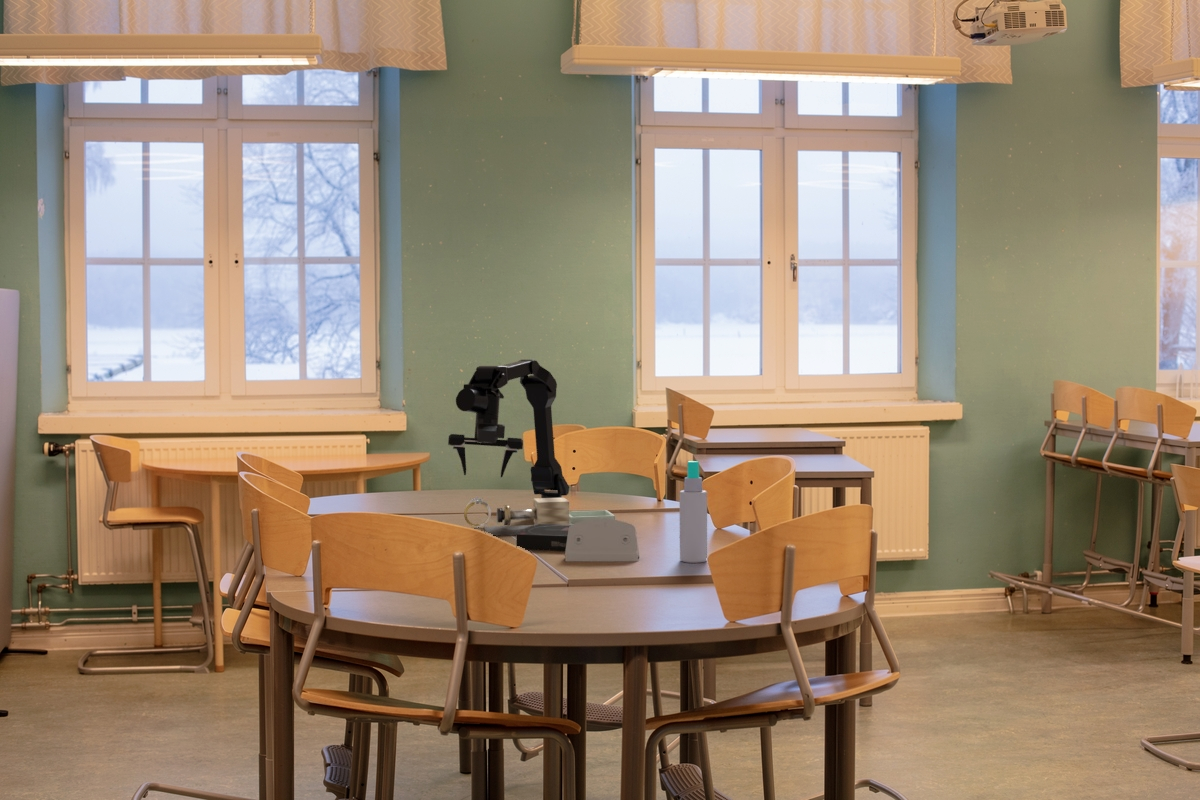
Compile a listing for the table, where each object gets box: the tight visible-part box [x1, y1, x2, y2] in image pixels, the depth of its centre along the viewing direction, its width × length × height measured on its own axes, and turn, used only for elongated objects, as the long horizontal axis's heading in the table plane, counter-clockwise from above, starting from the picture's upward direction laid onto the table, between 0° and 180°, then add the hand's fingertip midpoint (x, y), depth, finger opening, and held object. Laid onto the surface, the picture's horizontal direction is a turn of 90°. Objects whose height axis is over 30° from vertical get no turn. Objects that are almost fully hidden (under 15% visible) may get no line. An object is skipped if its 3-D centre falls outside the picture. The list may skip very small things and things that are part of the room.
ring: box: [463, 496, 492, 529], centre depth 310 cm, size 7×3×8 cm, turn 92°
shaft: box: [496, 504, 537, 526], centre depth 302 cm, size 12×5×5 cm, turn 101°
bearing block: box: [483, 497, 575, 537], centre depth 303 cm, size 26×9×8 cm, turn 101°
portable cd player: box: [515, 524, 571, 552], centre depth 283 cm, size 16×17×4 cm
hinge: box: [564, 519, 640, 562], centre depth 265 cm, size 17×5×10 cm, turn 88°
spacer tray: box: [569, 509, 616, 524], centre depth 317 cm, size 11×12×2 cm
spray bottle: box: [679, 460, 708, 564], centre depth 260 cm, size 6×6×22 cm
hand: (483, 476), depth 299 cm, fingers open, 9 cm apart
